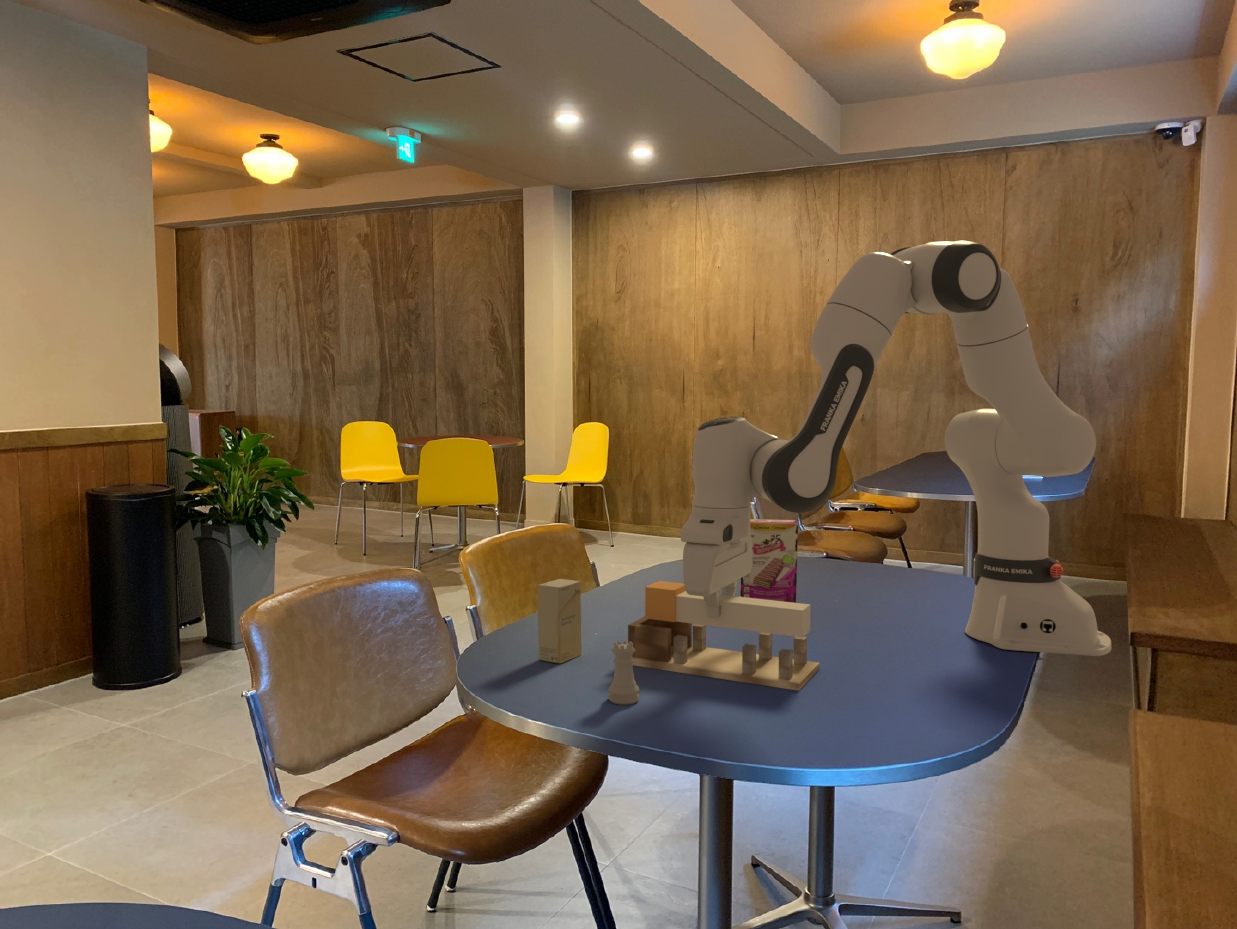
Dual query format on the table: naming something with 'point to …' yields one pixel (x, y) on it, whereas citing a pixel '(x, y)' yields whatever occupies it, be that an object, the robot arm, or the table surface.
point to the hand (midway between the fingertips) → (720, 613)
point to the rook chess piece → (623, 676)
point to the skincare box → (559, 620)
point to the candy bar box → (772, 561)
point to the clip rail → (718, 655)
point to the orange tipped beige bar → (726, 611)
